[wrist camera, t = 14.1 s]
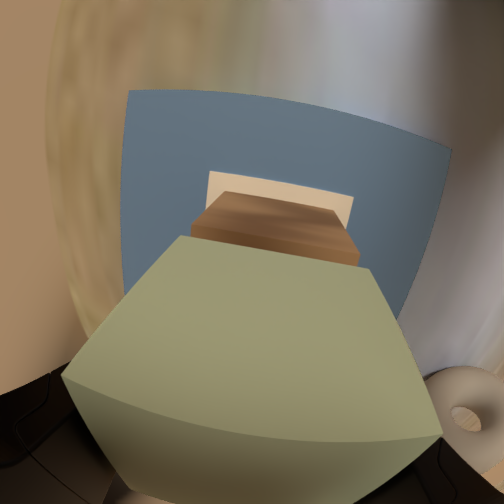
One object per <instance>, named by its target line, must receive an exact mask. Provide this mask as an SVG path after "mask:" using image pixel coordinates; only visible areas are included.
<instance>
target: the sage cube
mask: <svg viewBox="0 0 504 504" xmlns="http://www.w3.org/2000/svg"><path fill="white" fill-rule="evenodd" d="M61 377H62V379H63V381H64V383H65V385H66V387H67V389H68V391H69V394H70V396H71V398H72V400H73V401H74V403H75V405H76V407H77V409H78V411H79V413H80V415H81V416H82V418H83V420H84V422H85V424H86V425H87V427H88V429H89V430H90V432H91V434H92V435H93V437H94V439H95V440H96V442H97V443H98V445H99V446H100V448H101V450H102V451H103V453H104V454H105V456H106V457H107V459H108V460H109V461H110V463H111V464H112V466H113V467H114V468H115V470H116V471H117V473H118V474H119V475H120V477H121V478H122V479H123V480H124V482H125V483H126V484H127V486H128V487H129V488H130V489H132V490H134V491H137V492H140V493H143V494H145V495H148V496H152V497H155V498H158V499H161V500H164V501H168V502H171V503H175V504H353V503H354V502H356V501H358V500H359V499H361V498H363V497H364V496H366V495H367V494H369V493H370V492H372V491H373V490H375V489H376V488H378V487H379V486H381V485H382V484H384V483H385V482H386V481H388V480H389V479H391V478H392V477H393V476H395V475H396V474H397V473H399V472H400V471H401V470H402V469H404V468H405V467H406V466H408V465H409V464H410V463H411V462H412V461H414V460H415V459H416V458H417V457H418V456H420V455H421V454H422V453H423V452H424V451H425V450H426V449H428V448H429V447H430V446H431V445H432V444H433V443H434V442H435V441H436V440H437V439H438V438H439V437H440V436H441V435H442V434H443V431H442V428H441V425H440V422H439V419H438V417H437V414H436V411H435V408H434V406H433V403H432V401H431V398H430V395H429V393H428V390H427V388H426V385H425V383H424V381H423V378H422V376H421V373H420V371H419V369H418V366H417V364H416V362H415V360H414V357H413V355H412V353H411V351H410V348H409V346H408V344H407V342H406V340H405V338H404V336H403V333H402V331H401V329H400V327H399V325H398V323H397V321H396V319H395V317H394V315H393V313H392V311H391V309H390V307H389V305H388V303H387V301H386V299H385V297H384V296H383V294H382V292H381V290H380V288H379V286H378V284H377V282H376V281H375V279H374V277H373V275H372V273H371V272H370V270H369V269H367V268H361V267H356V266H351V265H345V264H340V263H334V262H329V261H323V260H318V259H312V258H306V257H301V256H295V255H290V254H284V253H279V252H273V251H268V250H262V249H256V248H251V247H245V246H240V245H234V244H228V243H223V242H217V241H211V240H206V239H200V238H194V237H189V236H183V235H180V236H179V237H178V238H177V239H176V240H175V241H174V242H173V244H172V245H171V246H170V247H169V248H168V249H167V250H166V251H165V252H164V253H163V254H162V255H161V256H160V257H159V258H158V260H157V261H156V262H155V263H154V264H153V265H152V266H151V267H150V268H149V269H148V270H147V272H146V273H145V274H144V275H143V276H142V277H141V278H140V279H139V280H138V282H137V283H136V284H135V285H134V286H133V287H132V288H131V289H130V291H129V292H128V293H127V294H126V295H125V296H124V298H123V299H122V300H121V301H120V302H119V303H118V304H117V306H116V307H115V308H114V309H113V310H112V312H111V313H110V314H109V315H108V316H107V317H106V319H105V320H104V321H103V322H102V323H101V325H100V326H99V327H98V328H97V330H96V331H95V332H94V333H93V334H92V336H91V337H90V338H89V339H88V341H87V342H86V343H85V345H84V346H83V347H82V348H81V349H80V351H79V352H78V353H77V355H76V356H75V357H74V358H73V360H72V361H71V362H70V364H69V365H68V366H67V367H66V369H65V370H64V371H63V373H62V374H61Z"/></svg>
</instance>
